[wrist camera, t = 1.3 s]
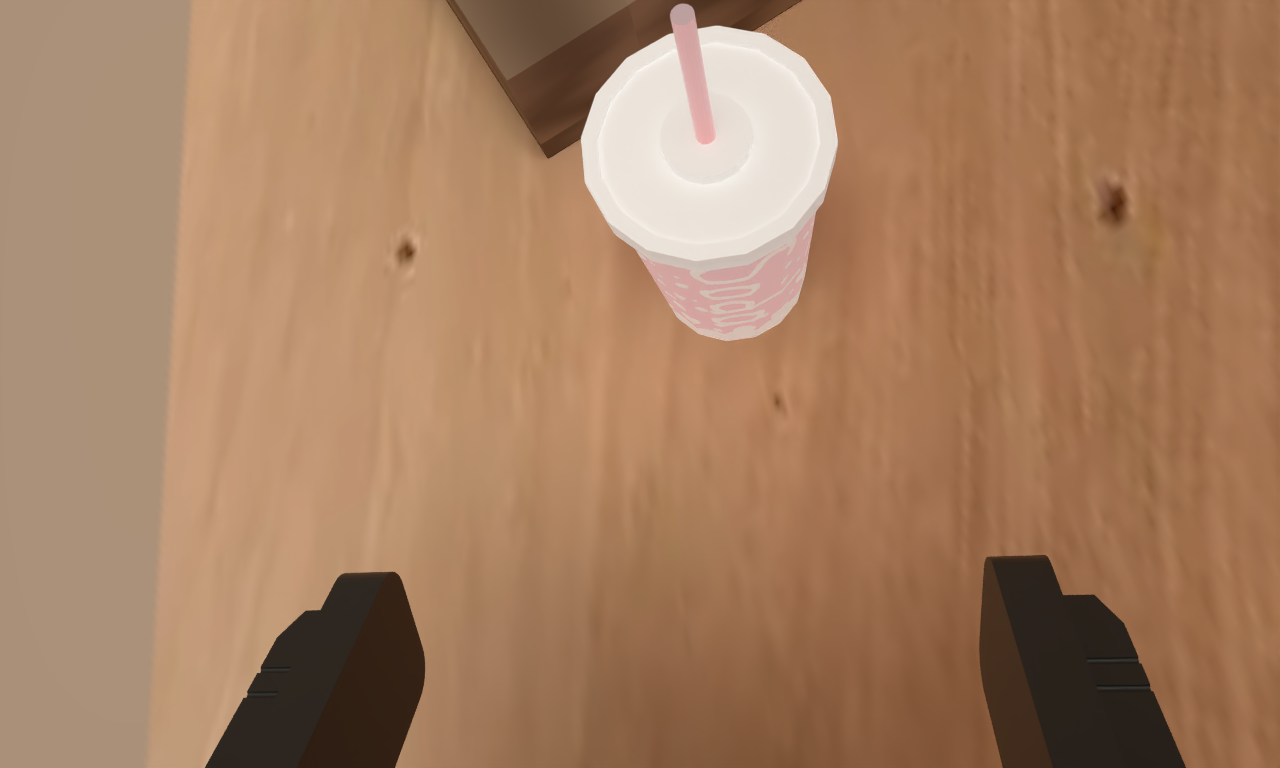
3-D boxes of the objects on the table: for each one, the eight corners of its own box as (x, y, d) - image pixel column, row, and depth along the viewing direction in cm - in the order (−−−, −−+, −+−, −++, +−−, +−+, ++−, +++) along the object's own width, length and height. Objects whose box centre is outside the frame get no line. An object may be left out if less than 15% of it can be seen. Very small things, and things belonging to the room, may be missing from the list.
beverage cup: (629, 358, 33) (507, 158, 19) (647, 182, 34) (545, -119, 21) (824, 369, 32) (837, 165, 18) (834, 186, 33) (854, -128, 20)
